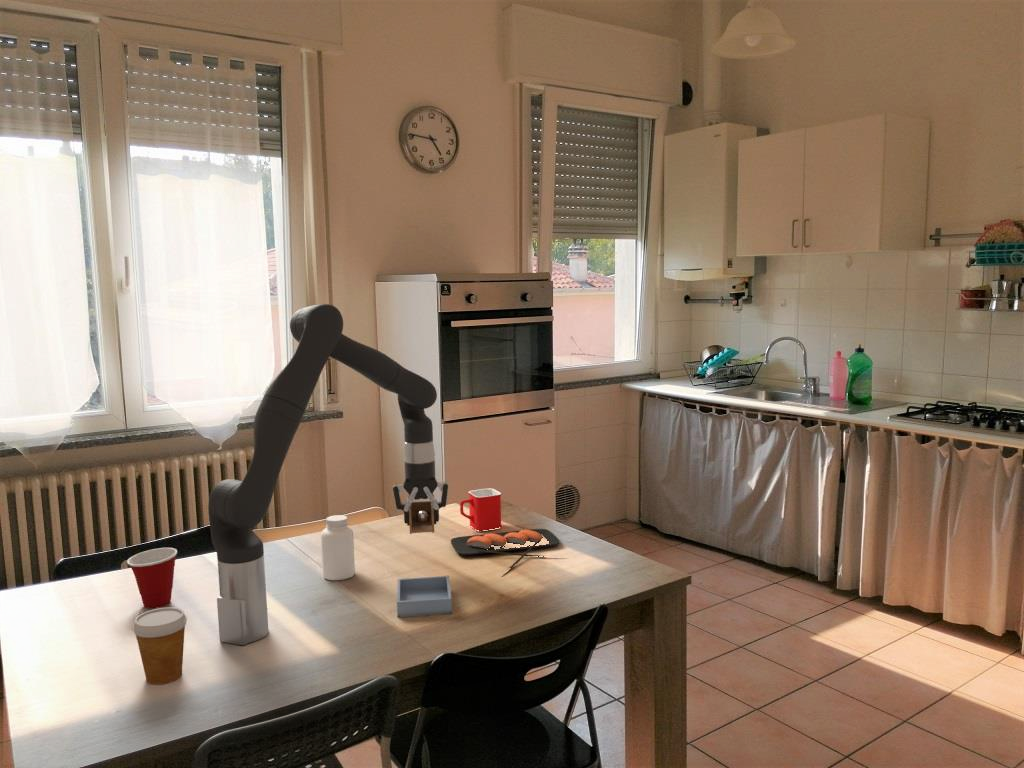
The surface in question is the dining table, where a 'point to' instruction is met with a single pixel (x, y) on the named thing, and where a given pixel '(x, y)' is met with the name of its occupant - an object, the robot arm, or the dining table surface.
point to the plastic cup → (154, 575)
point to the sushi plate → (502, 542)
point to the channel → (417, 525)
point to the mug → (483, 509)
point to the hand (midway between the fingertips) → (421, 523)
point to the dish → (424, 596)
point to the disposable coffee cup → (161, 643)
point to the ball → (422, 516)
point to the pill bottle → (337, 549)
